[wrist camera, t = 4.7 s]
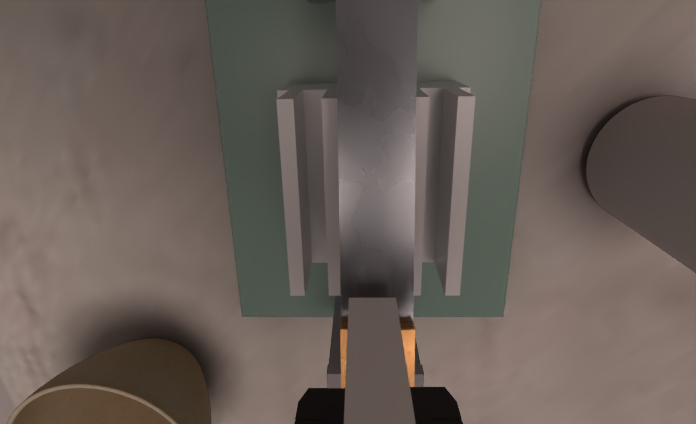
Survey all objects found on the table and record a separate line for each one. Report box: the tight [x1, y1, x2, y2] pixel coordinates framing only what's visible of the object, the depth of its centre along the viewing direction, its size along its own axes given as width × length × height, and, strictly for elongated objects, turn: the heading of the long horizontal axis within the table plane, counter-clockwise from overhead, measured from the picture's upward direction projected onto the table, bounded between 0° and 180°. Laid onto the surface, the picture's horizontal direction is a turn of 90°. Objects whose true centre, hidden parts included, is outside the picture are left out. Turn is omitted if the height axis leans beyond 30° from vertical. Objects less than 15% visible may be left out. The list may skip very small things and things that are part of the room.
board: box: [205, 0, 541, 388], centre depth 20 cm, size 20×15×8 cm
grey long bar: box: [336, 0, 418, 388], centre depth 15 cm, size 16×3×2 cm, turn 1°
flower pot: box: [7, 338, 211, 424], centre depth 26 cm, size 10×10×7 cm
